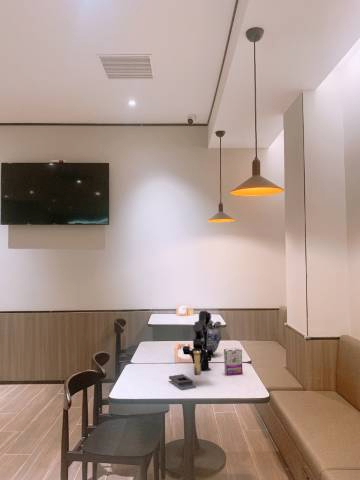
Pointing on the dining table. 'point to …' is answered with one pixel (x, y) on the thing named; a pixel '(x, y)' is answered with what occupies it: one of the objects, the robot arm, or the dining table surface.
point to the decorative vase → (213, 336)
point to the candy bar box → (233, 361)
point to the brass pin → (197, 362)
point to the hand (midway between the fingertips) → (196, 363)
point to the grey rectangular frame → (182, 382)
